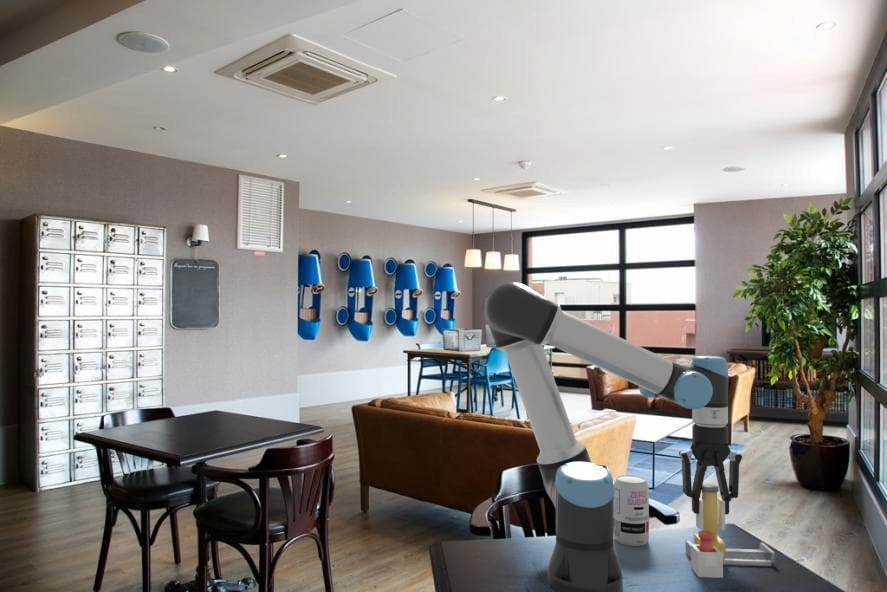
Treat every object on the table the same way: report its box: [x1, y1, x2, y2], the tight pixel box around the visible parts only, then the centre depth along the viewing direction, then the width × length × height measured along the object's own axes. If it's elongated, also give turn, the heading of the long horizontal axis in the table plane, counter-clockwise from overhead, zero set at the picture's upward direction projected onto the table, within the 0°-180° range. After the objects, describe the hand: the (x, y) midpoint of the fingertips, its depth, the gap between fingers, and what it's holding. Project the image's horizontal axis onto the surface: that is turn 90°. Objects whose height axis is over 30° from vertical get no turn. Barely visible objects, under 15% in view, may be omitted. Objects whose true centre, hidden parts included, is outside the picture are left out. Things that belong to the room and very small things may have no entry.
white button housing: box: [690, 543, 724, 579], centre depth 134 cm, size 5×5×5 cm
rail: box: [685, 540, 776, 567], centre depth 141 cm, size 17×6×3 cm, turn 86°
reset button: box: [697, 530, 715, 552], centre depth 134 cm, size 3×3×5 cm
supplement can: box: [613, 474, 650, 547], centre depth 152 cm, size 8×8×15 cm
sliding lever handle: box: [693, 483, 727, 557], centre depth 141 cm, size 5×6×15 cm
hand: (710, 527), depth 141 cm, fingers open, 4 cm apart
